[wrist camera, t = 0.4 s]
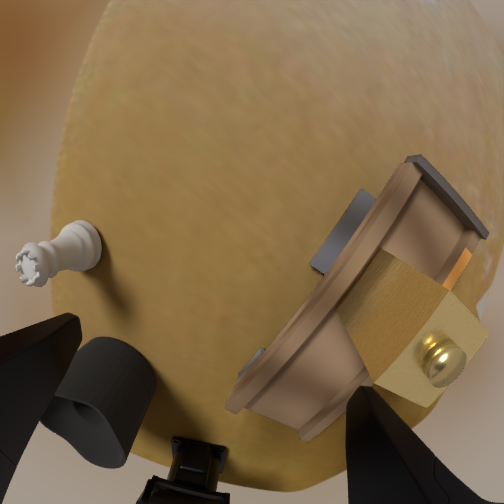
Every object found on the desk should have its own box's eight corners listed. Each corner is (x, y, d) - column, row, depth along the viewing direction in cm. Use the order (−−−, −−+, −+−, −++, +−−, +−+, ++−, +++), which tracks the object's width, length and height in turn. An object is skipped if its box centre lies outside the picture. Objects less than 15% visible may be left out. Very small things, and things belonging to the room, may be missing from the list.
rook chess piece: (113, 249, 22) (55, 278, 14) (85, 277, 23) (30, 310, 15) (86, 209, 21) (23, 222, 13) (60, 239, 22) (1, 260, 14)
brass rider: (380, 337, 18) (434, 419, 10) (335, 308, 18) (380, 397, 9) (421, 282, 17) (500, 342, 9) (379, 247, 17) (462, 299, 8)
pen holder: (146, 332, 24) (95, 401, 14) (170, 406, 26) (142, 477, 16) (71, 329, 24) (14, 379, 15) (100, 397, 26) (62, 453, 17)
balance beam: (305, 405, 25) (312, 448, 19) (228, 368, 24) (219, 412, 18) (450, 224, 20) (491, 236, 15) (380, 157, 19) (416, 149, 14)
